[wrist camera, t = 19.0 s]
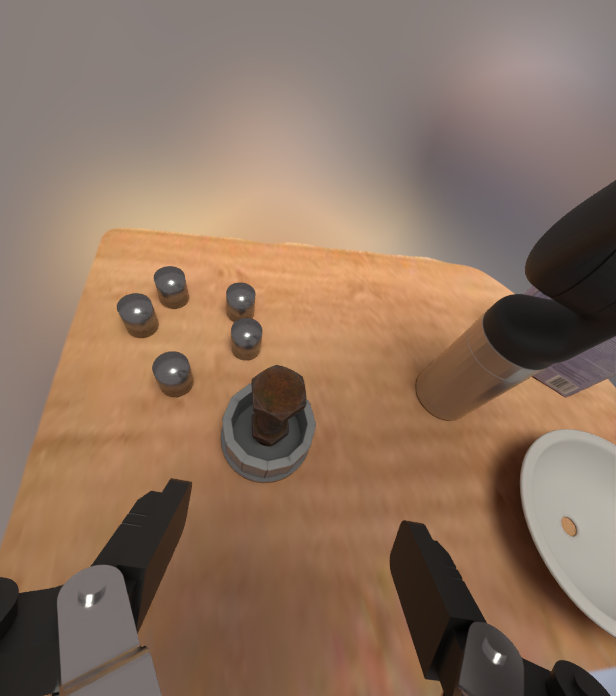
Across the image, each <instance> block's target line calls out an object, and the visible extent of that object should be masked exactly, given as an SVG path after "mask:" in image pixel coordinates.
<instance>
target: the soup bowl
mask: <svg viewBox="0 0 616 696" xmlns="http://www.w3.org/2000/svg"><path fill="white" fill-rule="evenodd" d="M520 495H521V502H522V508H523V512H524V516H525V519H526V522H527V526H528V529H529V531H530V534H531V536H532V539H533V541H534V543H535V545H536V548H537V550H538V552H539V554H540V556H541V557H542V559H543V561H544V563H545V565H546V566H547V568H548V569H549V571H550V573H551V574H552V576H553V577H554V578H555V580H556V581H557V583H558V584H559V586H560V587H561V588H562V589H563V591H564V592H565V593H566V594H567V596H568V597H569V598H570V599H571V600H572V601H573V602H574V603H575V605H576V606H577V607H578V608H579V609H580V610H581V611H582V612H583V613H584V614H585V615H586V616H587V617H588V618H590V619H591V620H592V621H593V622H594V623H596V624H597V625H598V626H599V627H601V628H602V629H603V630H605V631H606V632H608V633H609V634H610V635H612V636H614V637H615V638H616V445H614V444H612V443H611V442H609V441H607V440H605V439H603V438H601V437H598V436H596V435H593V434H591V433H587V432H584V431H579V430H571V429H562V430H555V431H551V432H548V433H546V434H544V435H542V436H541V437H539V438H538V439H537V440H535V441H534V442H533V443H532V445H531V446H530V447H529V449H528V451H527V452H526V454H525V457H524V459H523V462H522V467H521V473H520ZM563 517H567V518H569V519H571V520H572V521H573V523H574V524H575V526H576V530H577V532H576V535H575V536H569V535H568V534H567V533H566V532H565V531H564V529H563V527H562V524H561V520H562V518H563Z"/></svg>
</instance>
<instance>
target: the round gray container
mask: <svg viewBox="0 0 616 696" xmlns="http://www.w3.org/2000/svg"><path fill="white" fill-rule="evenodd" d="M306 400H307V399H306ZM252 414H254V412H253V402H252V385H251V384H249V385H247V386H246V387H245V388H243V389H242V390H241V391H239V392H238V393H237V394H235V395H234V396H233V397H232V398H231V400H230V402H229V405H228V407H227V409H226V411H225V414H224V416H223V419H222V421H223V426H222V431H221V445H222V450H223V453H224V456H225V458H226V460H227V462H228V464H229V465H230V466H231V468H232V469H233V470H234V471H235V472H236V473H238V474H239V475H240V476H242V477H244V478H245V479H248V480H250V481H254V482H260V483H270V482H276V481H279V480H282V479H284V478H286V477H288V476H289V475H291V474H292V473H293V472H294V471H295V470H297V468H298V467H299V466H300V465H301V464H302V462H303V461H304V459H305V457H306V455H307V453H308V450H309V448H310V446H311V442H312V438H313V435H314V431H315V427H316V422H315V419H314V415H313V412H312V408H311V405H310V403H309V401H308V400H307V404H306V407H305V408H304V409H303V410H301V411H300V412H298V413H297V414H296V415H294V416H293V417H291V418H290V419H288V423H289V433H288V435H287V436H286V437H284V438H283V439H282V440H280V441H279V442H278V443H276V444H275V445H273V446H263V445H261V444H260V443H259V442H258V441H257V440H255V439H254V438H253V436H252Z"/></svg>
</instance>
